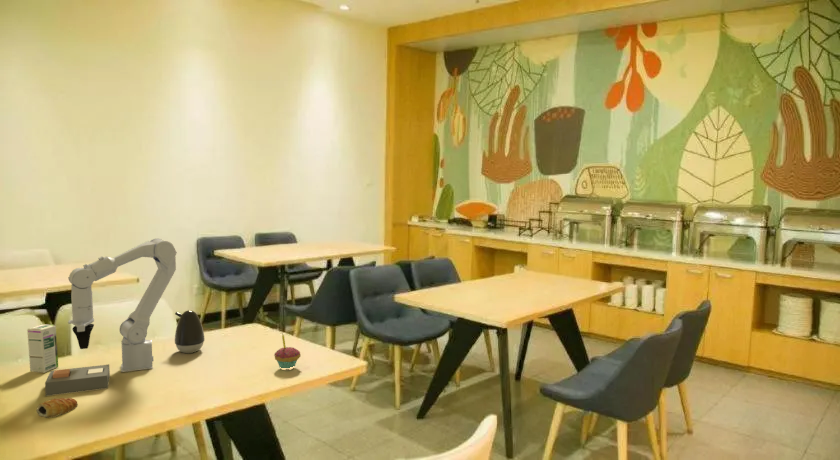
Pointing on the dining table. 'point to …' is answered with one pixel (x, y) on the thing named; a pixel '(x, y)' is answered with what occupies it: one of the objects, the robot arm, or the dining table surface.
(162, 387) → the dining table surface
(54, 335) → the syrup box
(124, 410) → the dining table surface
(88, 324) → the robot arm
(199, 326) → the pump dispenser
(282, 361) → the cupcake
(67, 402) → the pastry
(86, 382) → the block
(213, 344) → the dining table surface
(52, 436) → the dining table surface
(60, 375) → the button
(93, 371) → the button
